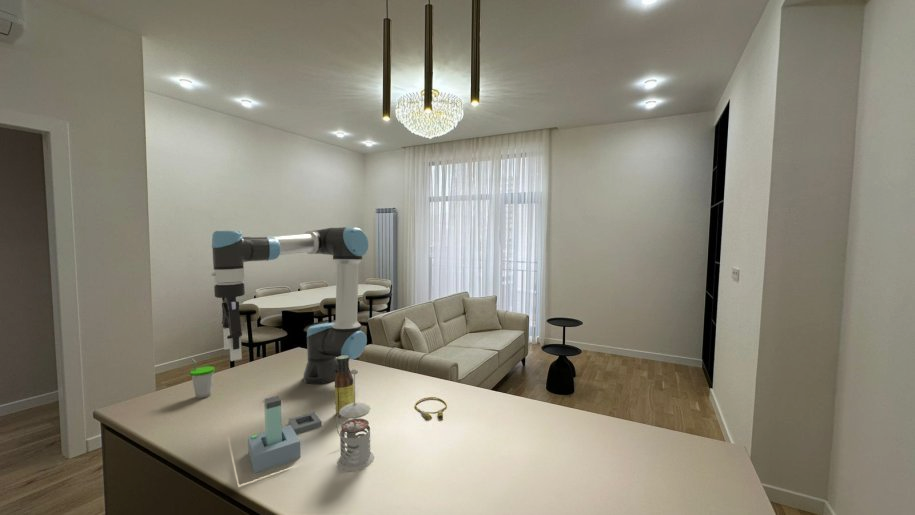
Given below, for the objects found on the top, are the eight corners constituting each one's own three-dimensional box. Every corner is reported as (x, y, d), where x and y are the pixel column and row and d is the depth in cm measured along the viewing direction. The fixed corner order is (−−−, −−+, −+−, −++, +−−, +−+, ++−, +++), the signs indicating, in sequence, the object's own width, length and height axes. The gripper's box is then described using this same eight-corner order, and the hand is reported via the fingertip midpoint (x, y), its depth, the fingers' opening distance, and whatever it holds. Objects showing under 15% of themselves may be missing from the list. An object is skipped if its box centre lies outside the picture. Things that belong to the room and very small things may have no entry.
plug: (279, 449, 101) (278, 395, 101) (282, 455, 98) (280, 400, 98) (265, 454, 99) (264, 399, 98) (268, 460, 96) (266, 403, 96)
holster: (314, 417, 121) (314, 411, 120) (321, 427, 114) (321, 421, 114) (288, 425, 116) (288, 419, 116) (294, 435, 109) (294, 429, 109)
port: (291, 441, 107) (290, 423, 106) (300, 459, 98) (300, 439, 97) (248, 454, 100) (247, 435, 100) (254, 475, 91) (253, 454, 91)
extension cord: (406, 419, 120) (406, 413, 120) (420, 398, 136) (420, 393, 136) (441, 422, 118) (441, 416, 118) (452, 401, 133) (452, 396, 133)
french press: (354, 476, 91) (352, 378, 89) (324, 461, 97) (322, 369, 96) (381, 456, 99) (380, 366, 98) (352, 443, 105) (351, 359, 104)
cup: (219, 394, 139) (218, 356, 138) (196, 402, 132) (194, 362, 131) (210, 390, 143) (208, 353, 142) (187, 397, 136) (185, 358, 136)
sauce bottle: (358, 412, 124) (357, 355, 123) (346, 420, 119) (345, 361, 118) (344, 408, 127) (343, 353, 126) (331, 416, 121) (329, 358, 120)
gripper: (209, 280, 114) (213, 346, 115) (219, 288, 94) (222, 368, 95) (237, 278, 118) (240, 342, 119) (251, 286, 99) (254, 362, 100)
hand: (232, 353), depth 107 cm, fingers open, 13 cm apart
